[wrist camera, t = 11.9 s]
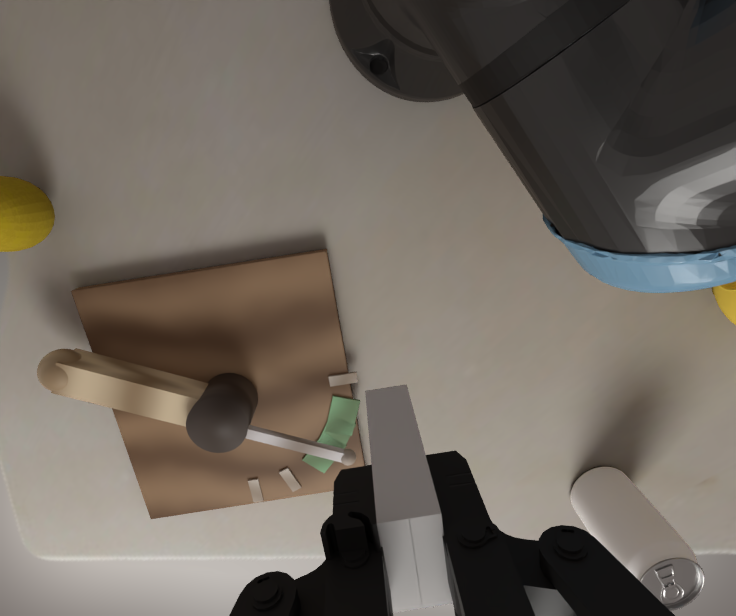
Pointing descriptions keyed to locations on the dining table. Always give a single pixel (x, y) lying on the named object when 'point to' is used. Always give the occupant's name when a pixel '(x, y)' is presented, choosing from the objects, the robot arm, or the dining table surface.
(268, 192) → the dining table surface
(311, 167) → the dining table surface
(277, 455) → the board
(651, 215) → the robot arm
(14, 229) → the lemon
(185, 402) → the tan long two-tone device
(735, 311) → the teapot
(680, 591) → the can
